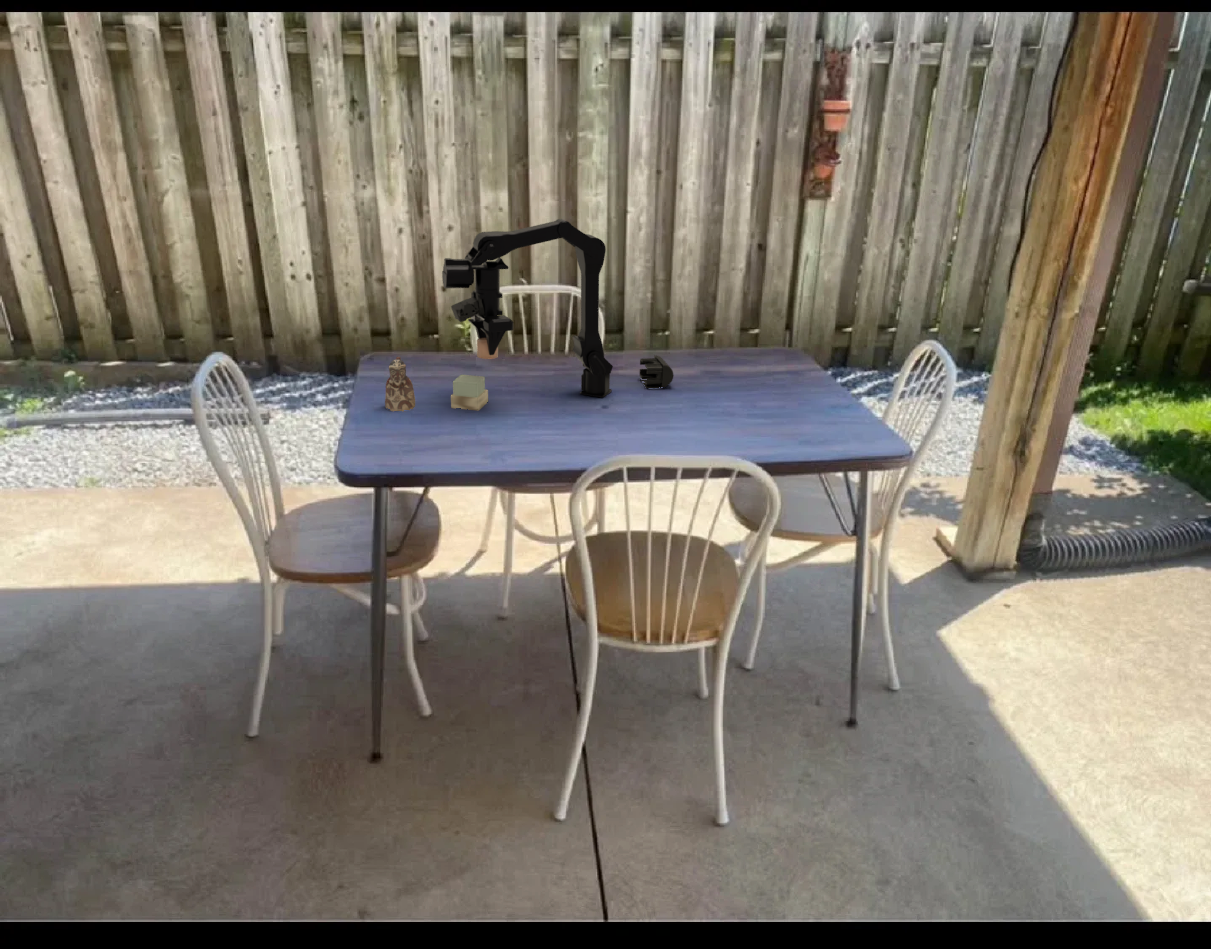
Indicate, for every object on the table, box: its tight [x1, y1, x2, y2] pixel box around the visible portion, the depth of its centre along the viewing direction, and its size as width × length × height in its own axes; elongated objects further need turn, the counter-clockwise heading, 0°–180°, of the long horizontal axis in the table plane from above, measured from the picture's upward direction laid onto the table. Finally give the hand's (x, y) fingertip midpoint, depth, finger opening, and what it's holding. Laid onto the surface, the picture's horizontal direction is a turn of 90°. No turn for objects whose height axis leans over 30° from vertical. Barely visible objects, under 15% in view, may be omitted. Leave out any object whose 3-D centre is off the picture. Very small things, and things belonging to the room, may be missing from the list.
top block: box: [452, 374, 486, 398], centre depth 213 cm, size 6×6×4 cm
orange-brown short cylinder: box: [476, 338, 499, 360], centre depth 212 cm, size 5×5×4 cm
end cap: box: [639, 354, 674, 389], centre depth 234 cm, size 10×7×7 cm
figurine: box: [384, 356, 416, 412], centre depth 210 cm, size 7×7×12 cm
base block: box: [450, 388, 489, 412], centre depth 215 cm, size 7×7×4 cm
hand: (487, 352), depth 213 cm, fingers closed on orange-brown short cylinder, 5 cm apart
